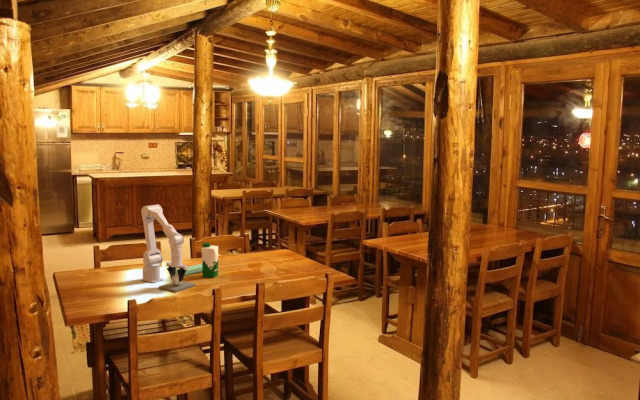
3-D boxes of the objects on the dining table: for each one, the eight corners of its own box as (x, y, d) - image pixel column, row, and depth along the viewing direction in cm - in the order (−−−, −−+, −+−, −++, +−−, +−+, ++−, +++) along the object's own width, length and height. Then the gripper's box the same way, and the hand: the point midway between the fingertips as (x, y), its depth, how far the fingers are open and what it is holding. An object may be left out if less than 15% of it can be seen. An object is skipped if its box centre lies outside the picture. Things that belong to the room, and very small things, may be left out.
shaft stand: (158, 288, 307) (158, 279, 306) (178, 282, 319) (178, 273, 319) (175, 292, 300) (175, 283, 299) (195, 285, 313) (195, 276, 312)
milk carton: (206, 273, 338) (205, 241, 335) (220, 274, 336) (219, 242, 333) (200, 277, 329) (199, 244, 326) (214, 278, 327) (214, 245, 325)
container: (176, 268, 327) (211, 260, 345) (171, 270, 331) (206, 262, 349) (178, 277, 327) (213, 269, 344) (173, 279, 331) (208, 271, 349)
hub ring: (169, 283, 308) (169, 276, 308) (177, 281, 313) (176, 274, 312) (177, 284, 306) (176, 277, 305) (184, 282, 310) (183, 275, 310)
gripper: (161, 256, 308) (162, 280, 309) (180, 259, 300) (181, 284, 302) (171, 253, 314) (171, 277, 315) (190, 257, 306) (190, 281, 308)
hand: (177, 280), depth 309 cm, fingers closed on hub ring, 5 cm apart
